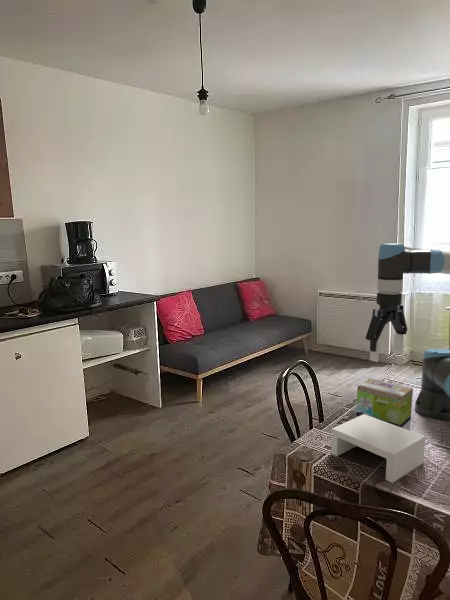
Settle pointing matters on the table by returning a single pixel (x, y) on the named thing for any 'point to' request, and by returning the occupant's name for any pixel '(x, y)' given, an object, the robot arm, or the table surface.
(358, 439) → the white riser stand
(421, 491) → the table surface
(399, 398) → the tea box
